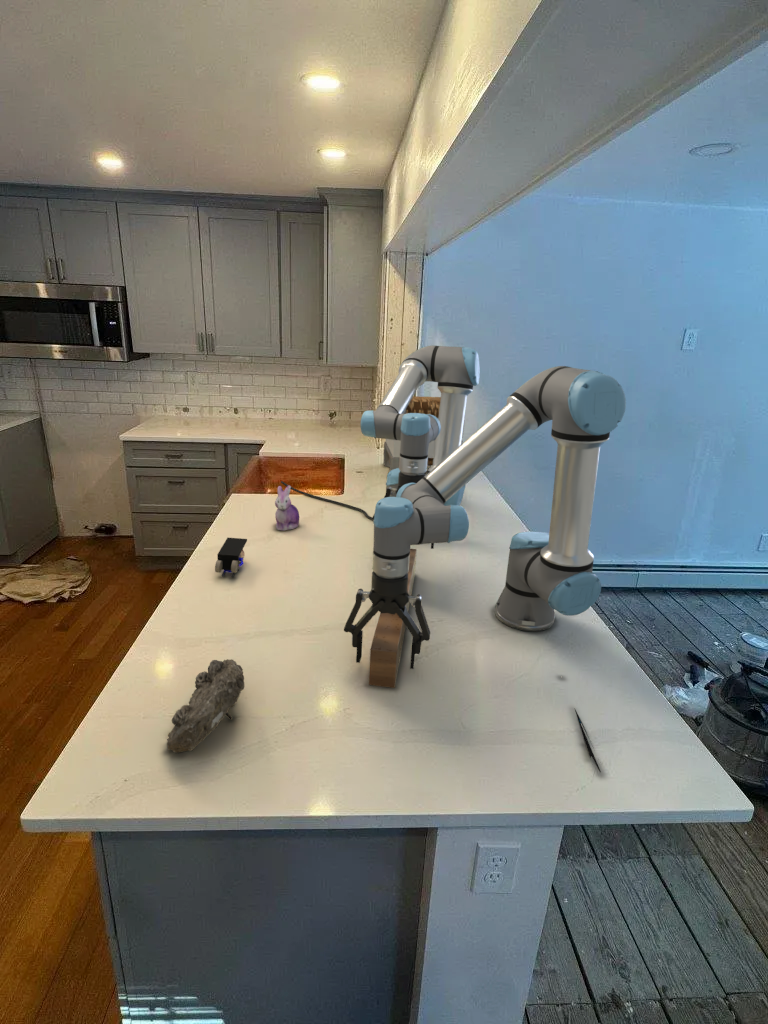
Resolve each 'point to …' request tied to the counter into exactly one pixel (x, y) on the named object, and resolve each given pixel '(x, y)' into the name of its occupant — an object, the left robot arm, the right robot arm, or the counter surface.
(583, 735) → the feather
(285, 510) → the figurine
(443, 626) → the counter surface
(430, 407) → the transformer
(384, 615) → the bar
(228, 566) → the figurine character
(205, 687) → the fossil
